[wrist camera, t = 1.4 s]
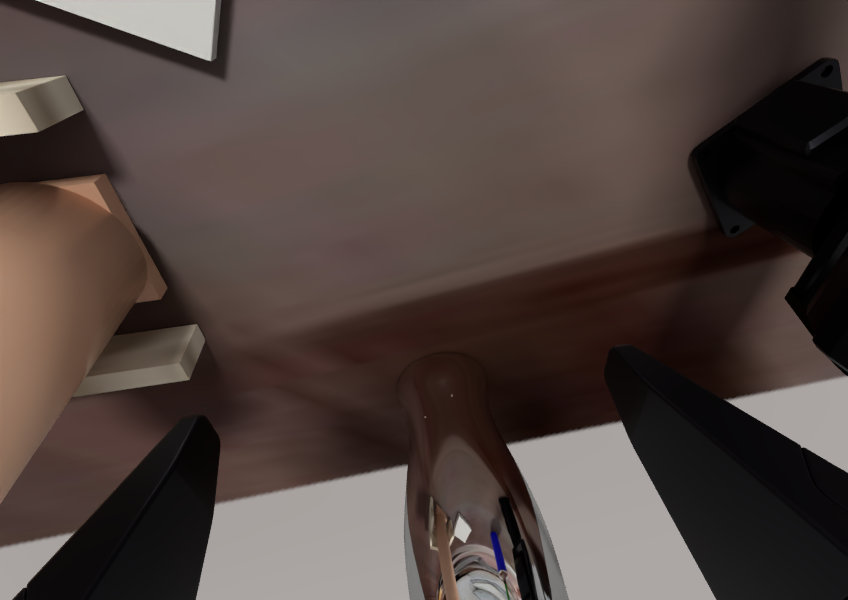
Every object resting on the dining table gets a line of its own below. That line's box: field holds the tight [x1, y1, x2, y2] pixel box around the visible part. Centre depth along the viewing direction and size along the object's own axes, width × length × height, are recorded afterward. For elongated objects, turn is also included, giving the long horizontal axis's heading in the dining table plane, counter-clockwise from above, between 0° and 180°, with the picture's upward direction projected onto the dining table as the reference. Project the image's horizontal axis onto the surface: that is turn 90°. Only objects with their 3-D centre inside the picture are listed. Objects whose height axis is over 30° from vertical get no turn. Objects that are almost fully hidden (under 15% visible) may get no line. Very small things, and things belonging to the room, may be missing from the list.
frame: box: [0, 76, 205, 397], centre depth 18 cm, size 10×13×3 cm
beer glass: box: [397, 353, 569, 600], centre depth 23 cm, size 7×7×15 cm
